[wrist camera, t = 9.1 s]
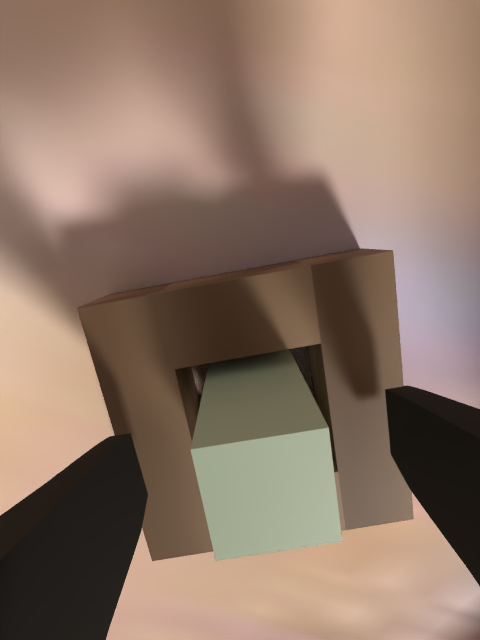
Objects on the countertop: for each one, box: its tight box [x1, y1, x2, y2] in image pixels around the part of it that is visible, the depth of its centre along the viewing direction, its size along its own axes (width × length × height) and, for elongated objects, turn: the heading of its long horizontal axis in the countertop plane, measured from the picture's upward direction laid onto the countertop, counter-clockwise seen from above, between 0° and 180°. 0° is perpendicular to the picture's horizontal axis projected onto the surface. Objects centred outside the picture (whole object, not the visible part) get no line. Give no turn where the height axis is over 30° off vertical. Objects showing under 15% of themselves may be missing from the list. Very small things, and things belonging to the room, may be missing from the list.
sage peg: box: [191, 349, 342, 561], centre depth 10 cm, size 3×3×6 cm
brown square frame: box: [77, 249, 414, 561], centre depth 12 cm, size 9×9×2 cm
